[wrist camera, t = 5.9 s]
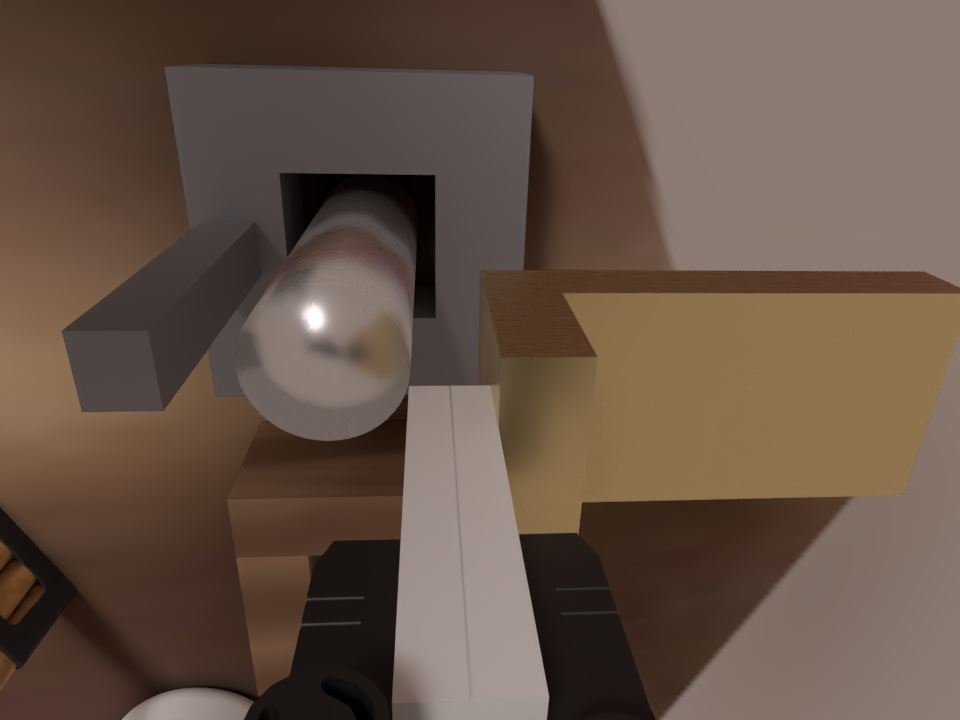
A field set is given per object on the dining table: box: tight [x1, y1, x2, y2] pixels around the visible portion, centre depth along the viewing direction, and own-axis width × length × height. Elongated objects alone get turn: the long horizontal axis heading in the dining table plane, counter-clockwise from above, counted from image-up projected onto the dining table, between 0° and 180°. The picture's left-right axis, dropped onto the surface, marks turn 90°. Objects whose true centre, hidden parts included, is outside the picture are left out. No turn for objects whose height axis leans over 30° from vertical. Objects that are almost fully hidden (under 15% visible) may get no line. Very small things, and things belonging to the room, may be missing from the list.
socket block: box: [62, 64, 534, 412], centre depth 22 cm, size 12×12×14 cm
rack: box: [227, 421, 407, 696], centre depth 32 cm, size 11×11×6 cm
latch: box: [477, 270, 960, 535], centre depth 14 cm, size 5×10×4 cm, turn 89°
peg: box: [235, 175, 418, 441], centre depth 22 cm, size 4×4×14 cm
